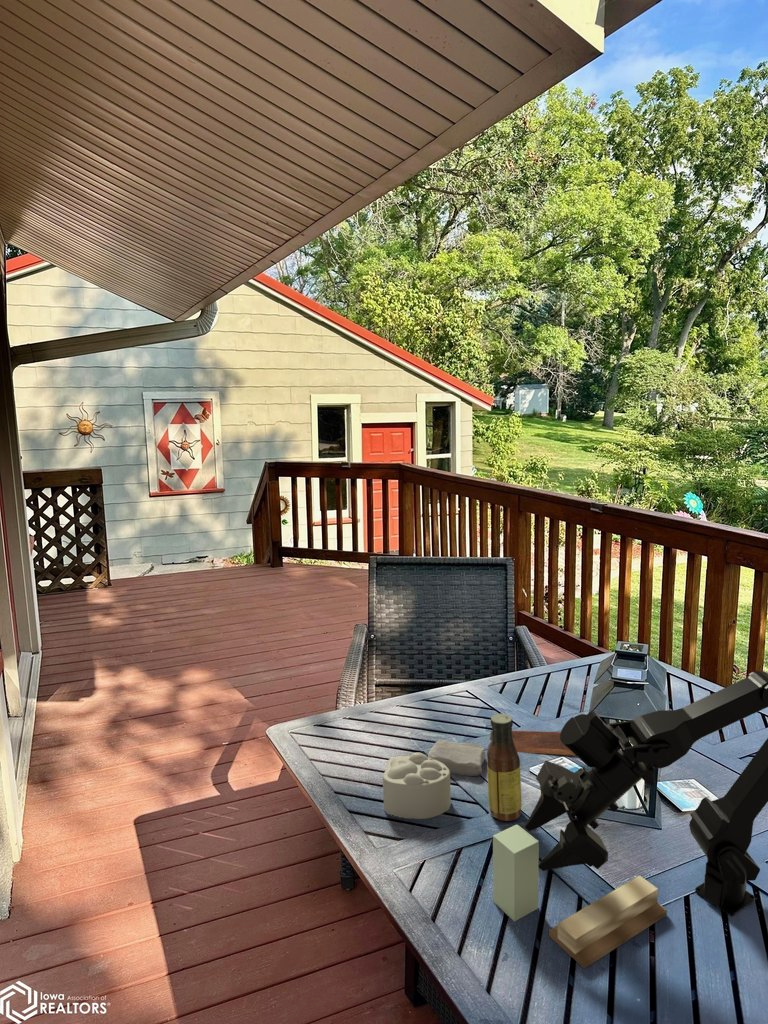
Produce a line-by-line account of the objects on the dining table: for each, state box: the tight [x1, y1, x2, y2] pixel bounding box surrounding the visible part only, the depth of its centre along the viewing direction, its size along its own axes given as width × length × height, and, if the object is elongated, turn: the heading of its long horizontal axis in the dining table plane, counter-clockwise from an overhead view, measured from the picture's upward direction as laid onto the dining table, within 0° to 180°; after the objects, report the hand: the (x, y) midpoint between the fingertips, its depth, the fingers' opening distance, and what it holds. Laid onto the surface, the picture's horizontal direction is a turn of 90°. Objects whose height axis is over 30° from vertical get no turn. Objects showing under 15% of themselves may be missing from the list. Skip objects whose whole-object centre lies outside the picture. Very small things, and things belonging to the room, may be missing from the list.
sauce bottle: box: [486, 713, 523, 822], centre depth 132 cm, size 6×6×20 cm
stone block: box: [427, 739, 486, 777], centre depth 152 cm, size 12×5×10 cm
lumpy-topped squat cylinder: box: [382, 752, 452, 820], centre depth 137 cm, size 10×13×9 cm
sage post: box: [492, 824, 540, 922], centre depth 110 cm, size 5×5×12 cm
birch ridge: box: [548, 875, 668, 969], centre depth 106 cm, size 18×7×4 cm, turn 121°
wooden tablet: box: [489, 730, 578, 758], centre depth 158 cm, size 26×2×10 cm
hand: (533, 848), depth 109 cm, fingers open, 9 cm apart
